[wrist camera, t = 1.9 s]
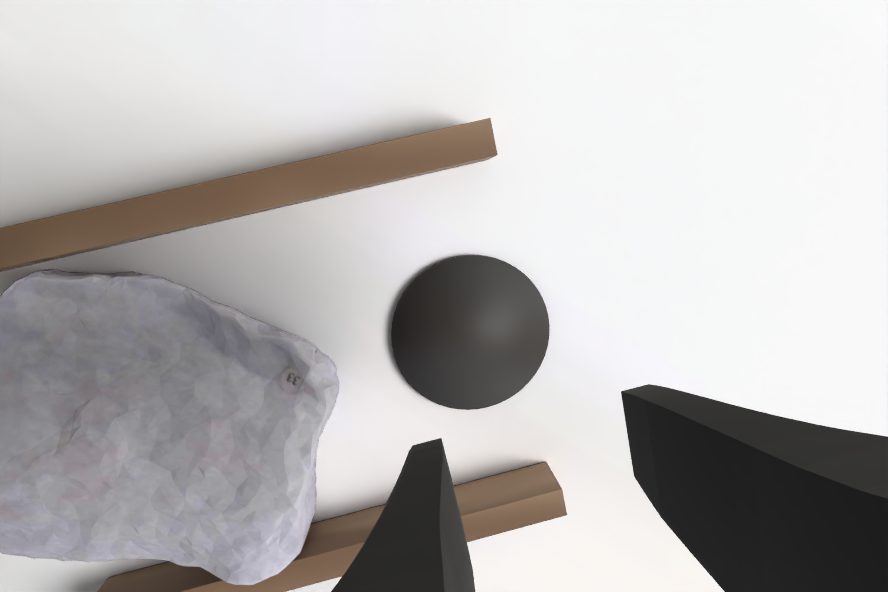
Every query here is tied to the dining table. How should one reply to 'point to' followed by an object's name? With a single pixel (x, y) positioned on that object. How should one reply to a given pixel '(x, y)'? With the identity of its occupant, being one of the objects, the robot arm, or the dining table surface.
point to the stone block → (155, 426)
